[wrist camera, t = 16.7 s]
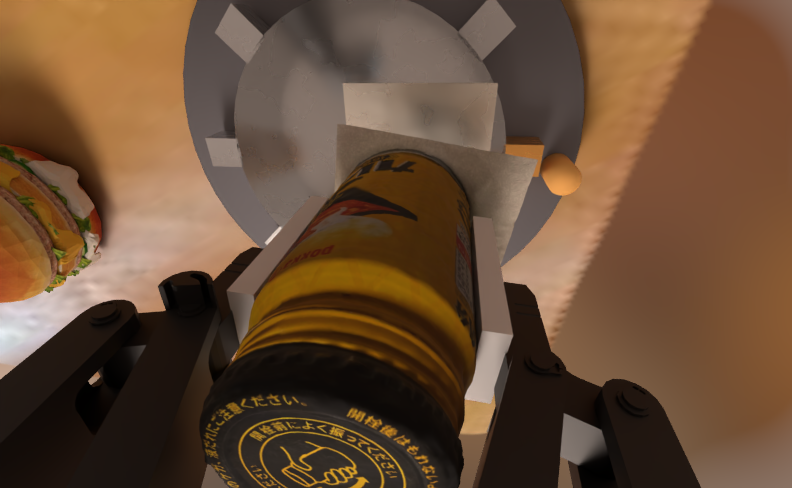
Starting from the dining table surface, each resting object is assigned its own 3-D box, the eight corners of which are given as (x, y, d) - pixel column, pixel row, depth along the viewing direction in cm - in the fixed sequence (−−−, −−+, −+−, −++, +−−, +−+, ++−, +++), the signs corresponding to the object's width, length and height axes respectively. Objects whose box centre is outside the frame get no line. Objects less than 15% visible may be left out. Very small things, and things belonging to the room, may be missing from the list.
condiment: (338, 122, 15) (98, 306, 5) (537, 158, 15) (712, 440, 5) (331, 262, 19) (185, 527, 9) (489, 294, 19) (526, 612, 8)
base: (143, -128, 21) (90, -155, 18) (658, -104, 18) (698, -131, 15) (228, 270, 35) (207, 292, 32) (519, 313, 33) (526, 342, 30)
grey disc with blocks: (193, 192, 30) (114, 241, 23) (277, -150, 18) (170, -257, 11) (423, 314, 33) (414, 389, 26) (616, 86, 21) (690, 112, 15)
